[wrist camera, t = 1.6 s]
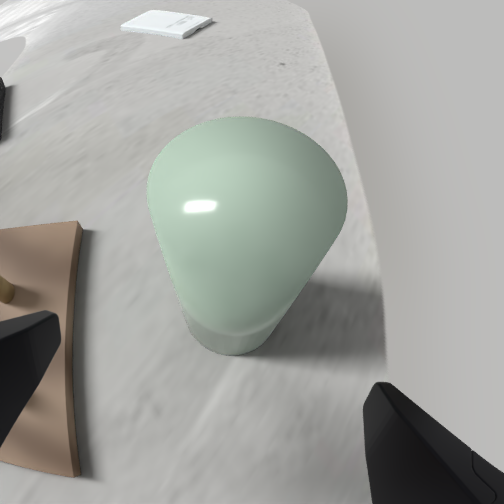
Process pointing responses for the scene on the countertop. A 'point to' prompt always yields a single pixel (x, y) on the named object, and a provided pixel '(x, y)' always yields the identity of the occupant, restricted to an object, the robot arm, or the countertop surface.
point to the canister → (243, 224)
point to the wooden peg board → (60, 369)
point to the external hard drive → (166, 23)
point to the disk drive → (1, 102)
